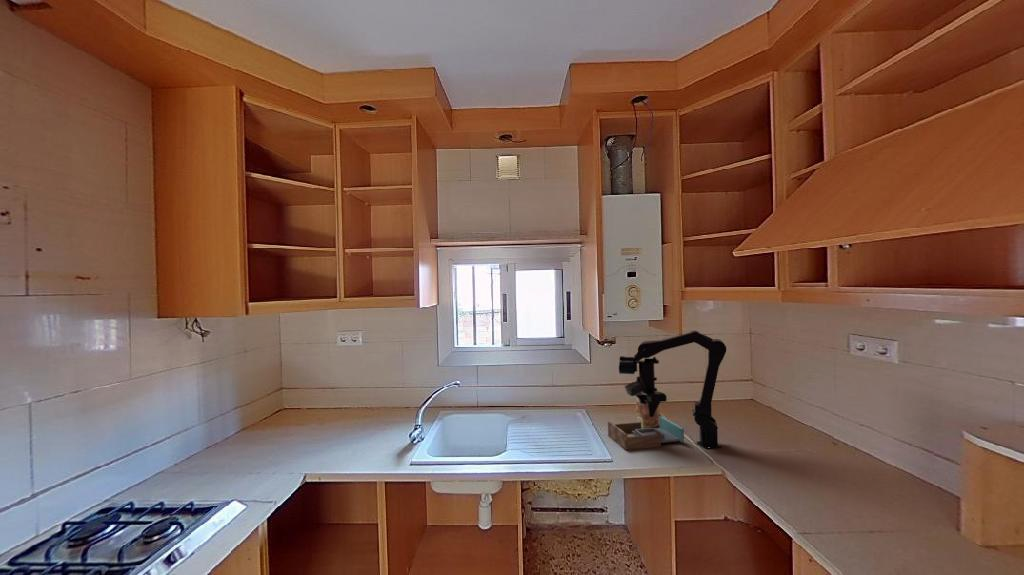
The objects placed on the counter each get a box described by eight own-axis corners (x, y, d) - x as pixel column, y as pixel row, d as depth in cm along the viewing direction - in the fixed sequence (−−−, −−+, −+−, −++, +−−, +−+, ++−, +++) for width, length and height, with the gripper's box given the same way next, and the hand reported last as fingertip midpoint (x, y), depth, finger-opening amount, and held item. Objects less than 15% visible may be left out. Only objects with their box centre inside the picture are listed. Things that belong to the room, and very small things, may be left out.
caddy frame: (661, 446, 171) (661, 431, 171) (625, 450, 168) (625, 434, 168) (641, 432, 187) (641, 418, 187) (608, 436, 184) (607, 421, 184)
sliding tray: (684, 441, 173) (683, 428, 173) (648, 445, 170) (648, 431, 170) (662, 428, 189) (662, 416, 188) (629, 431, 186) (629, 419, 186)
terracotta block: (657, 418, 177) (656, 405, 177) (645, 420, 176) (644, 406, 176) (650, 415, 182) (650, 402, 181) (639, 416, 181) (638, 403, 181)
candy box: (643, 429, 191) (642, 392, 191) (636, 426, 195) (635, 390, 195) (659, 426, 195) (658, 389, 195) (652, 423, 199) (651, 387, 199)
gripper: (617, 371, 186) (618, 410, 186) (638, 381, 168) (640, 424, 168) (642, 369, 188) (644, 407, 188) (666, 378, 170) (668, 421, 170)
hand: (648, 414), depth 179 cm, fingers closed on terracotta block, 5 cm apart
